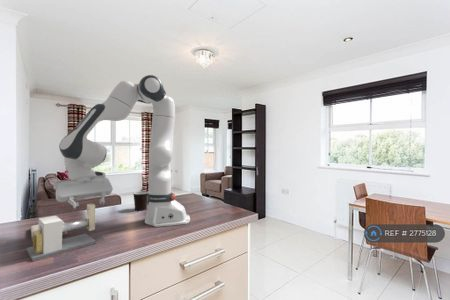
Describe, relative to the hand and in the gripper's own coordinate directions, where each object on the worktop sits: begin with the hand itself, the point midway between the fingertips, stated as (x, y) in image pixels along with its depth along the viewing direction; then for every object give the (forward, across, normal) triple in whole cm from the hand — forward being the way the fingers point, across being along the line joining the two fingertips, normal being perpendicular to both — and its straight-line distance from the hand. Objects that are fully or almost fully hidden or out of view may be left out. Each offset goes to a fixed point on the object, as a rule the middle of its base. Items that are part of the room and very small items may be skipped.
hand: (90, 205), depth 89 cm
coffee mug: (-8, +35, +27) cm, 45 cm away
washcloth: (-5, -9, +24) cm, 27 cm away
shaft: (+8, -7, +6) cm, 12 cm away
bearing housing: (+10, -9, +9) cm, 16 cm away
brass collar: (+10, -17, +8) cm, 21 cm away
